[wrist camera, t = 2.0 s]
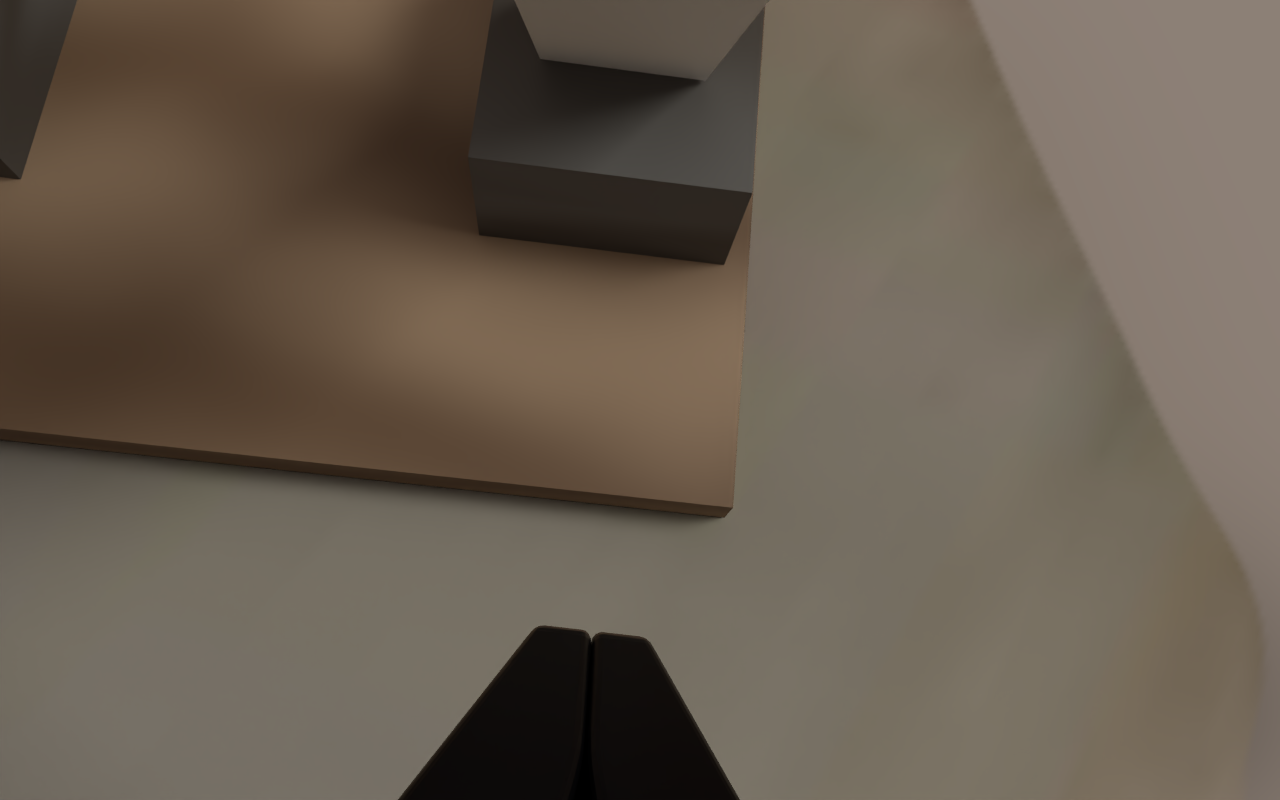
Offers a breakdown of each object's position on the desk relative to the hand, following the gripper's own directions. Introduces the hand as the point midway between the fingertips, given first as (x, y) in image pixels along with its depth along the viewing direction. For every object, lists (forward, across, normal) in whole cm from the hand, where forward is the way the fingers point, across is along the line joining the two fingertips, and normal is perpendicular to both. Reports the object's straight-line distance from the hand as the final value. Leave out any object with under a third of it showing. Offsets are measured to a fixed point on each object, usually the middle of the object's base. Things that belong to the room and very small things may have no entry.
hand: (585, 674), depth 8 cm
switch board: (+16, +7, +1) cm, 18 cm away
